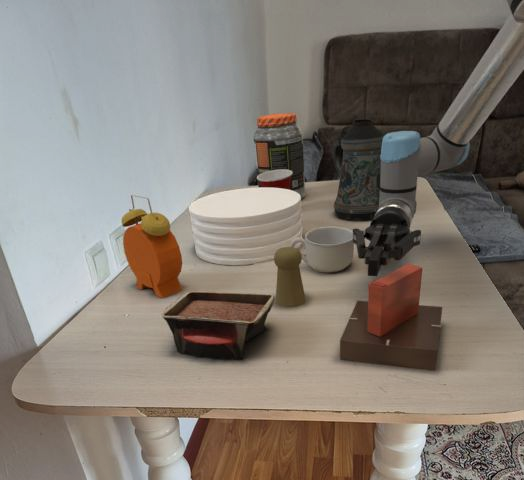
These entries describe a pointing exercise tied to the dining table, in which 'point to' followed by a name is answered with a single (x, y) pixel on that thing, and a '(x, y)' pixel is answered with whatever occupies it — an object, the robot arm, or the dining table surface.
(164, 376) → the dining table surface
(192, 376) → the dining table surface
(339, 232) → the teacup
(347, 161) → the beer stein
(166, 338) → the dining table surface
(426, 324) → the brown square platform
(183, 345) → the baking dish
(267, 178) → the plastic cup
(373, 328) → the orange-red rectangular block
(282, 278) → the olive pepper shaker
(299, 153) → the supplement tub
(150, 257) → the alarm clock
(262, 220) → the plate stack
